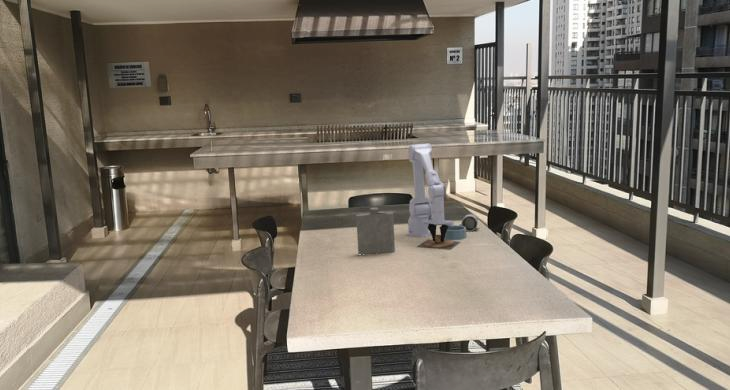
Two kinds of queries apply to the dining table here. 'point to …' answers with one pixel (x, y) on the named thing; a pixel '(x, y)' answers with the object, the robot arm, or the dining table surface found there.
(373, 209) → the hip flask
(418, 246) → the rubber mat
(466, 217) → the ceramic mug
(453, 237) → the slate-blue bowl
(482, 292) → the dining table surface
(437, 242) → the walnut cover
